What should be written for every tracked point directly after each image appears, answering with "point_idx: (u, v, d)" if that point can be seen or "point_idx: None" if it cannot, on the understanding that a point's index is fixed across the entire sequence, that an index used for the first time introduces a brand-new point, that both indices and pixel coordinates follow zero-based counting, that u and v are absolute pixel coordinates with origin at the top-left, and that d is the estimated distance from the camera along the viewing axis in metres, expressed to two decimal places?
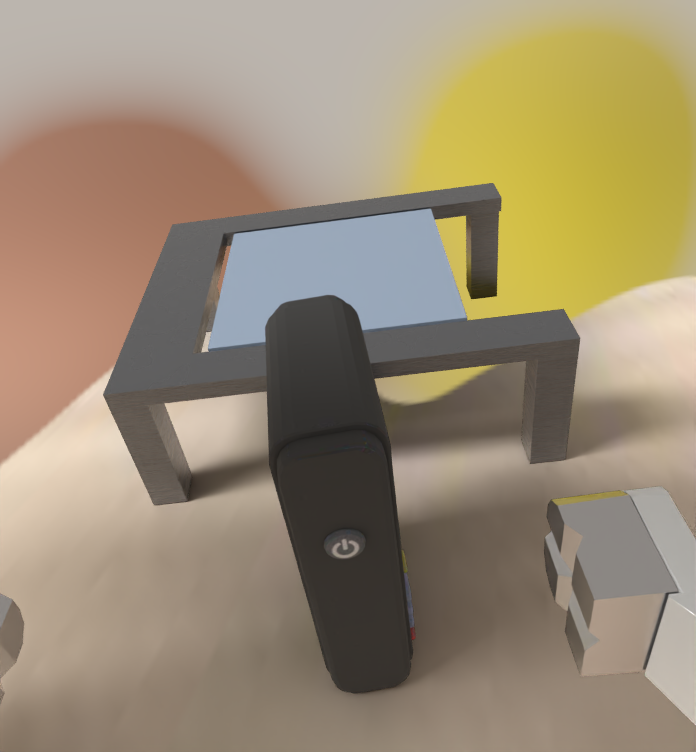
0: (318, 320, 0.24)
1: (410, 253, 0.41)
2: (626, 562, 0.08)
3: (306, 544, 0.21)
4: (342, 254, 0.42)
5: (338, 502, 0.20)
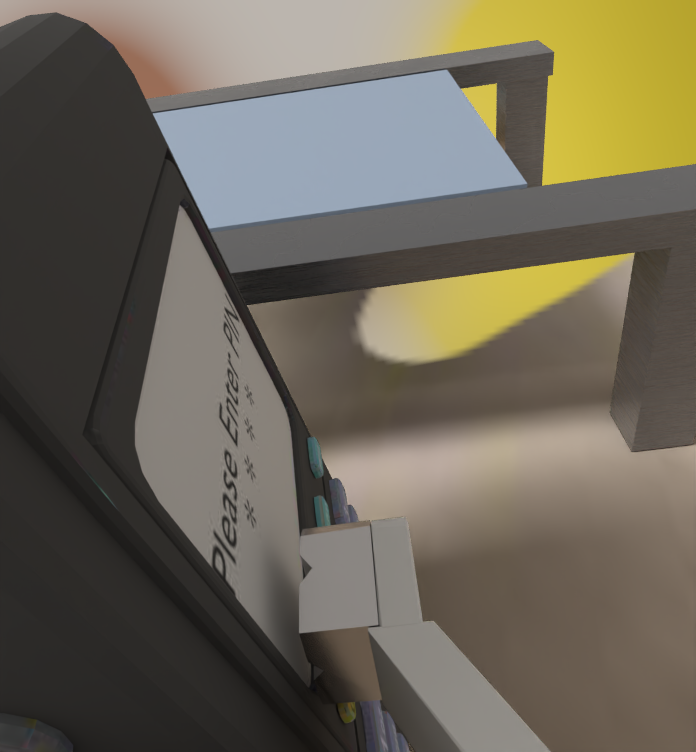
0: None
1: (418, 115, 0.25)
2: (342, 595, 0.08)
3: None
4: (309, 123, 0.26)
5: None
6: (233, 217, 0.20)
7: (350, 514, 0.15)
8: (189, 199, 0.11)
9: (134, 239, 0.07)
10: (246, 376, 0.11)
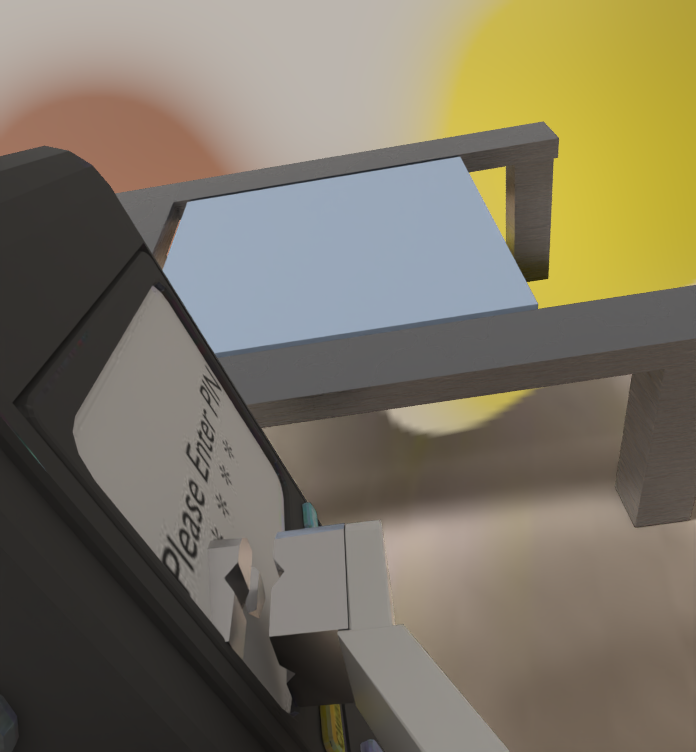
0: None
1: (437, 215, 0.28)
2: (313, 598, 0.08)
3: None
4: (337, 220, 0.29)
5: None
6: (279, 333, 0.22)
7: None
8: (165, 283, 0.12)
9: (94, 292, 0.09)
10: (226, 434, 0.12)
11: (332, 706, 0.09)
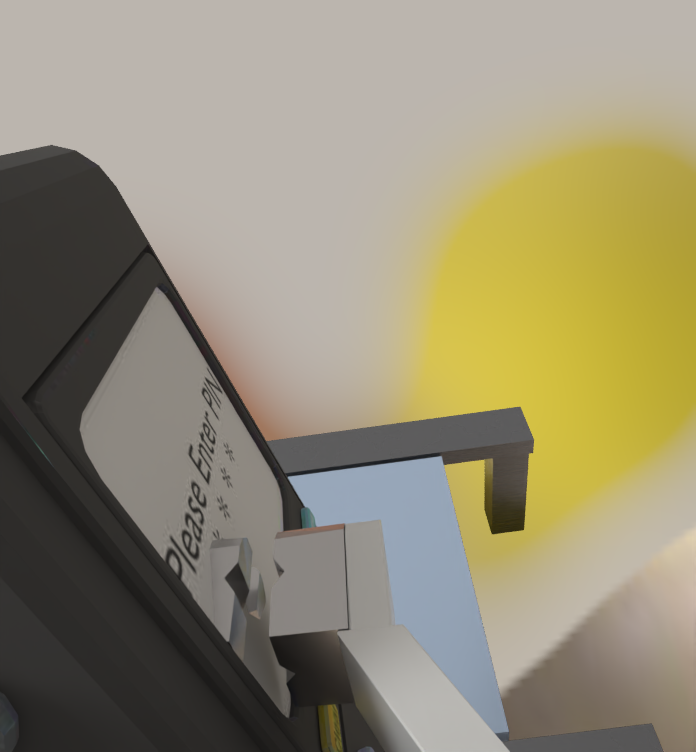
0: None
1: (418, 559, 0.30)
2: (312, 597, 0.08)
3: None
4: None
5: None
6: None
7: None
8: (168, 285, 0.12)
9: (100, 291, 0.09)
10: (227, 437, 0.12)
11: (330, 712, 0.09)
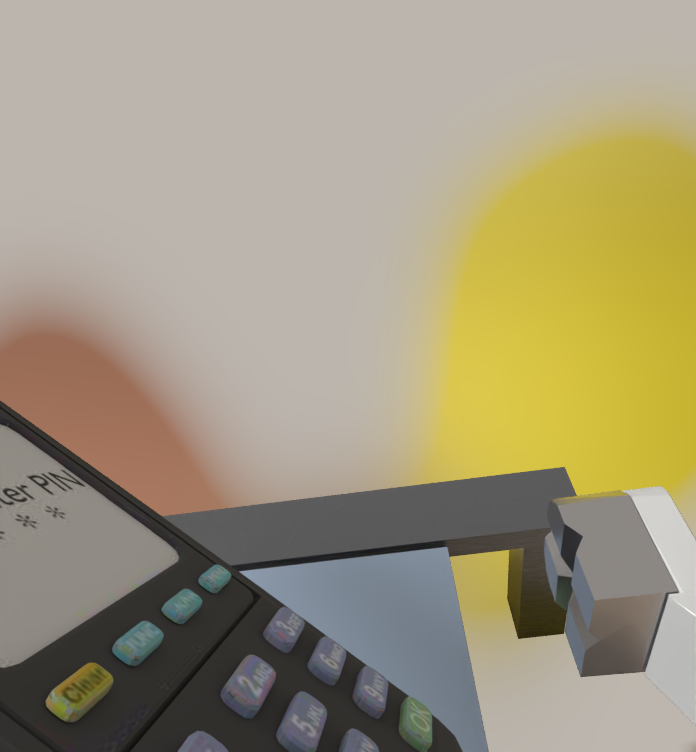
0: None
1: None
2: (625, 562, 0.08)
3: None
4: None
5: None
6: None
7: (319, 642, 0.12)
8: (9, 418, 0.14)
9: None
10: (62, 505, 0.12)
11: (84, 672, 0.08)
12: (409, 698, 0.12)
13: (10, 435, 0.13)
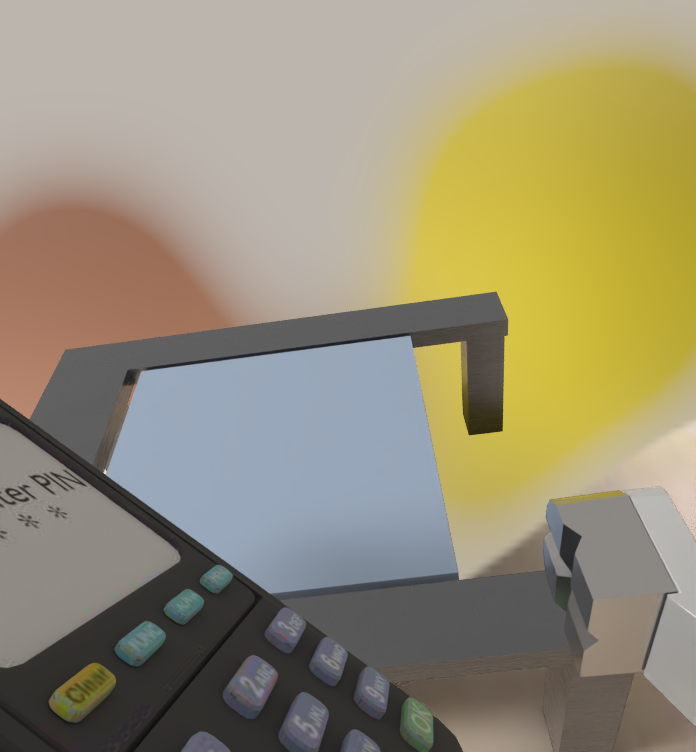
0: None
1: (378, 424, 0.28)
2: (624, 562, 0.08)
3: None
4: (282, 419, 0.29)
5: None
6: None
7: (320, 642, 0.12)
8: (11, 418, 0.14)
9: None
10: (64, 505, 0.12)
11: (87, 672, 0.08)
12: (410, 699, 0.12)
13: (12, 435, 0.13)
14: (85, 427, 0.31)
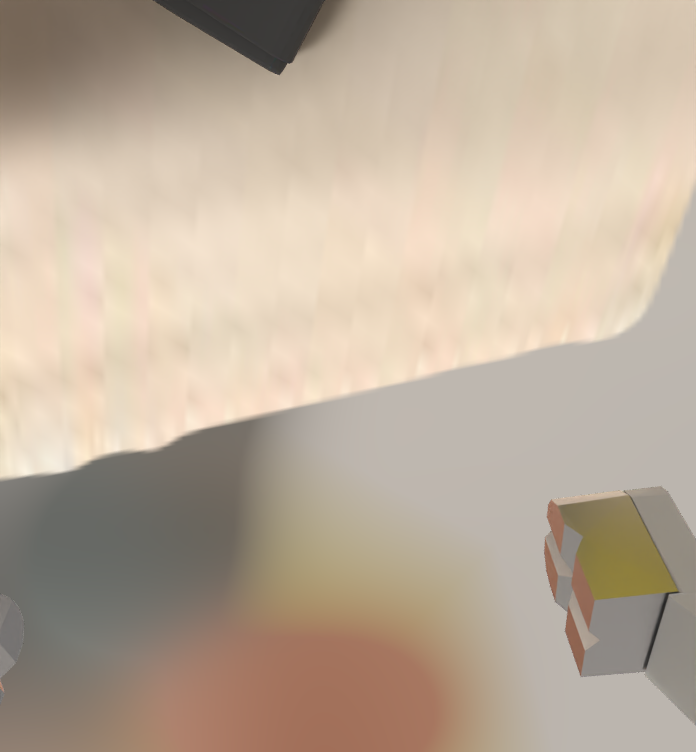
0: None
1: None
2: (625, 562, 0.08)
3: None
4: None
5: None
6: None
7: None
8: None
9: None
10: None
11: None
12: None
13: None
14: None
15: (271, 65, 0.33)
